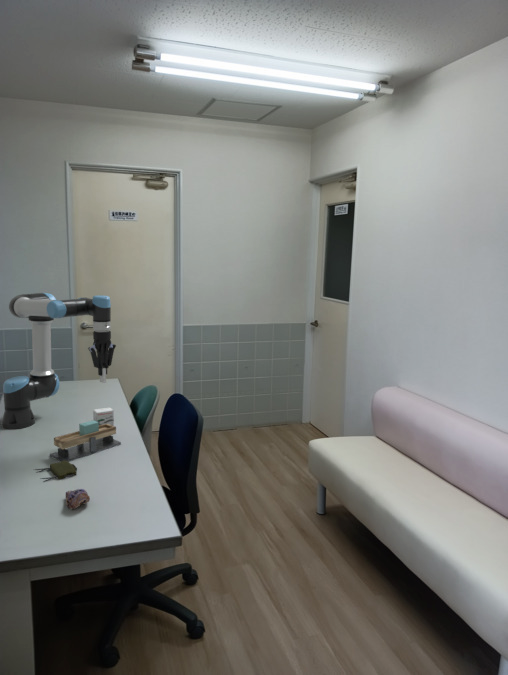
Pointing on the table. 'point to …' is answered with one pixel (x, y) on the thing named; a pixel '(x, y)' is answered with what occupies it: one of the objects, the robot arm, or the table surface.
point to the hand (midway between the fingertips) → (102, 381)
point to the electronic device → (60, 470)
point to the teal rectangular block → (88, 427)
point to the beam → (83, 436)
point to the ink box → (104, 416)
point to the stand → (85, 449)
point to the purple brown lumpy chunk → (76, 498)
